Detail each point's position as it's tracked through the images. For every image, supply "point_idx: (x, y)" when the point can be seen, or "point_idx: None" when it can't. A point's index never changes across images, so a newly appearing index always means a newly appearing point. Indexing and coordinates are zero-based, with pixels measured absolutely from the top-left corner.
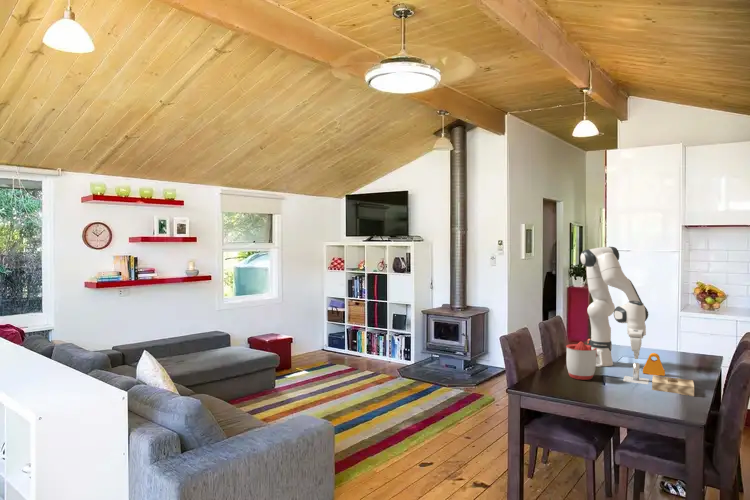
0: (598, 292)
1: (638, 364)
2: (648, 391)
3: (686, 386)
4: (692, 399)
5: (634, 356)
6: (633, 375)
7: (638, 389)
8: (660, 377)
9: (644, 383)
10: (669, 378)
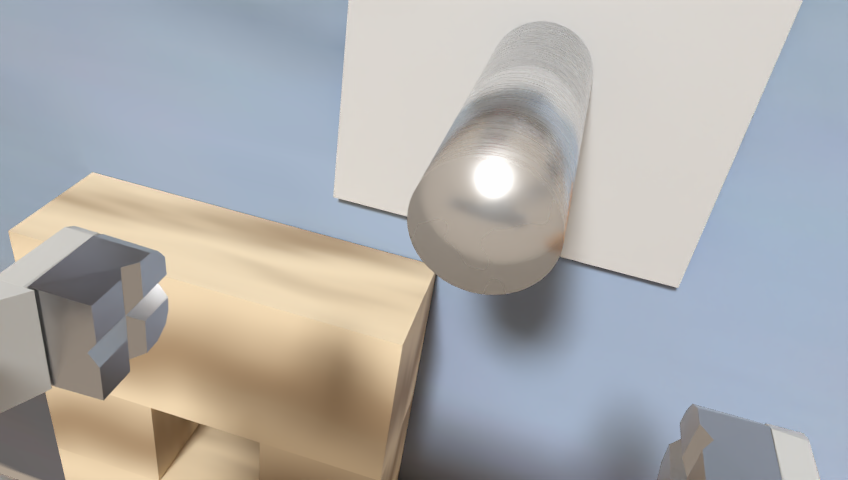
0: None
1: (429, 256)
2: (33, 123)
3: None
4: (33, 422)
5: (19, 261)
6: (507, 52)
7: (42, 12)
8: (314, 398)
9: (360, 158)
10: (315, 474)
